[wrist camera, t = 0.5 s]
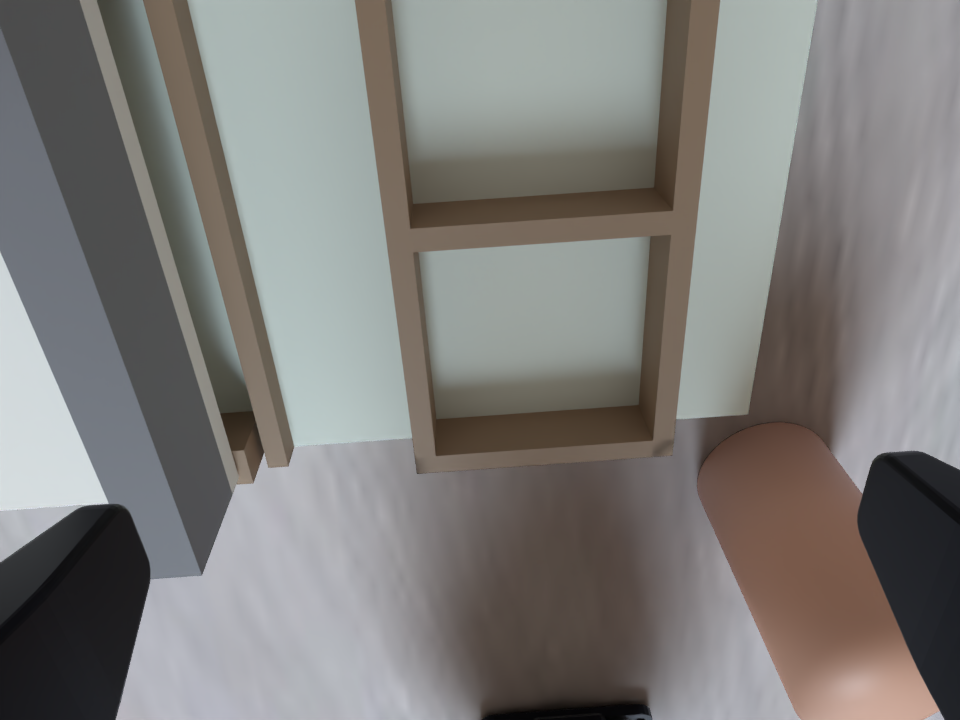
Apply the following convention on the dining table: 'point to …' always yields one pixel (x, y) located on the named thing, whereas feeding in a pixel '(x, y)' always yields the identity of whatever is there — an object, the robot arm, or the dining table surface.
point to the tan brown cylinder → (810, 575)
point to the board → (469, 214)
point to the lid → (95, 303)
